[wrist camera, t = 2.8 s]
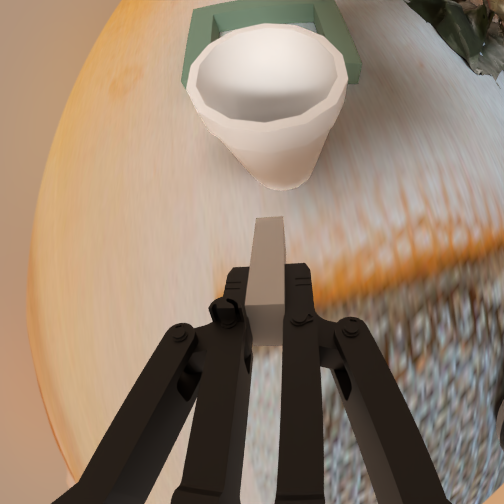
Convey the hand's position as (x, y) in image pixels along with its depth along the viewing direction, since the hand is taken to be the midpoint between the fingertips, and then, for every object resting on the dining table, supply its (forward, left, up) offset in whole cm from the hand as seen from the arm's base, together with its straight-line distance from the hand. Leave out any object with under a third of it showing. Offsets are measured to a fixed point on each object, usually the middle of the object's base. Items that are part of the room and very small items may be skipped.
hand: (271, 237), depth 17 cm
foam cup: (-5, -8, -9) cm, 13 cm away
